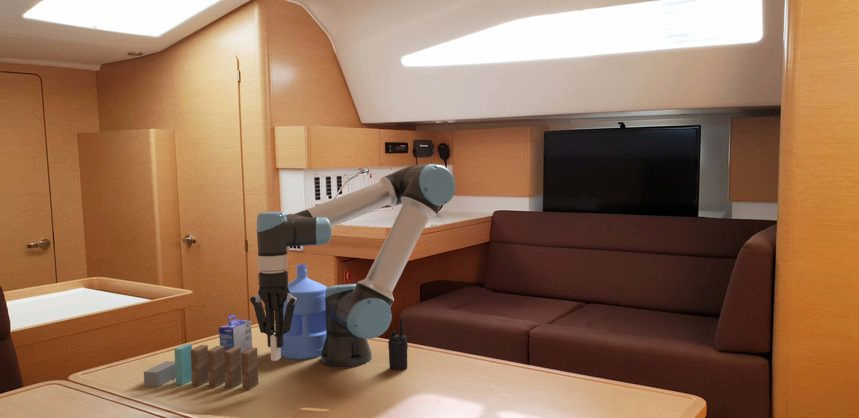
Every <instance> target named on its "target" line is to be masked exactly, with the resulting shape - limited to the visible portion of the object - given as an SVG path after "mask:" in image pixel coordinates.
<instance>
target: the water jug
mask: <svg viewBox="0 0 859 418" xmlns="http://www.w3.org/2000/svg"><path fill="white" fill-rule="evenodd" d="M307 267H308V266H307V264H297V265H296V278H295V279H294V280H293V279H292V280H291V281H288V289H289V291H290V294H291V295H292V296H293V297H298V301H297V303H296V304H295V307H294V312H293V317H292V322H291V327H290V331H289V332H287V333H285V334H283V346H282V347H281V358H284V359H289V360H306V359H307V360H308V359H314V358H318V357H321V353H322V350H323V346H324V343H325V339H326V311H325V291H326V289H327V288H328V286H326V285H325V284H323V283H320V282H318V281H315V280H313V279H310V278H309V277H308V270H307ZM287 304H288V303H287V299H286V301H285V302H284V308H283V322H284V317H285V312H286V307H287Z"/></svg>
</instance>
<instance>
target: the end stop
mask: <svg viewBox="0 0 859 418" xmlns="http://www.w3.org/2000/svg"><path fill="white" fill-rule="evenodd" d="M175 379H176V374H175V360H174V361H172V360H166V361H164V362H162V363H159V364H157V365H155V366H153V367H151V368H148V369H147V370H144V371H143V382H144V383H143V384H144V386H143V387H147V388H148V387H150V388H158V387H160V386H162V385H164V384H166V383H169V382H171V381H172V380H175Z"/></svg>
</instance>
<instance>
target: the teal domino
mask: <svg viewBox="0 0 859 418" xmlns="http://www.w3.org/2000/svg"><path fill="white" fill-rule="evenodd" d="M191 349H193V344H189V343H185V344H183V345H181V346H178V347H176V348H174V361H175V374H176V378H175V385H176V386H181V387H182V386H184V385H187V384H189V382H192V369H191Z"/></svg>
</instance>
